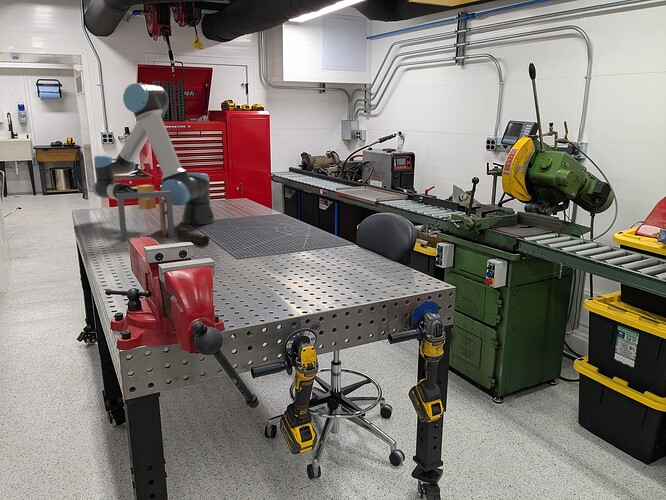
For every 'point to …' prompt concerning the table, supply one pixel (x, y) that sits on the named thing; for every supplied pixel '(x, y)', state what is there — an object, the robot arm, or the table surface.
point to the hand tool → (192, 236)
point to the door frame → (145, 195)
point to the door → (162, 215)
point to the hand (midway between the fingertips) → (154, 195)
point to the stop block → (144, 202)
